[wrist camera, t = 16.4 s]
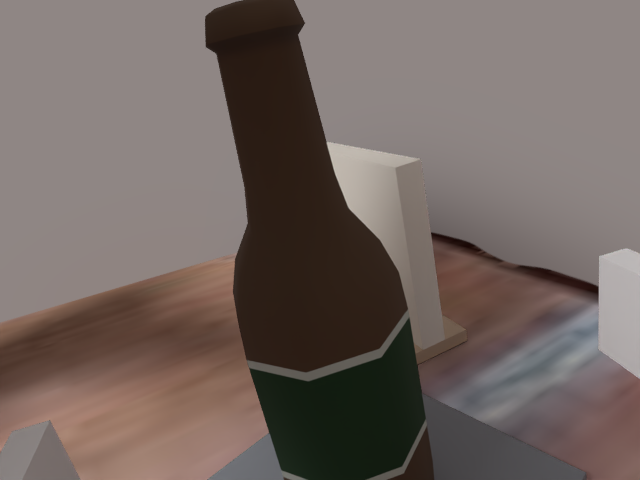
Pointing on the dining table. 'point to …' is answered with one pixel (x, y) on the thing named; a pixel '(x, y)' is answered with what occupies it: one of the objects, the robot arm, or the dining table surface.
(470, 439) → the mat
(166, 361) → the dining table surface
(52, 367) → the dining table surface
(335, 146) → the screen
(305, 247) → the beer bottle
